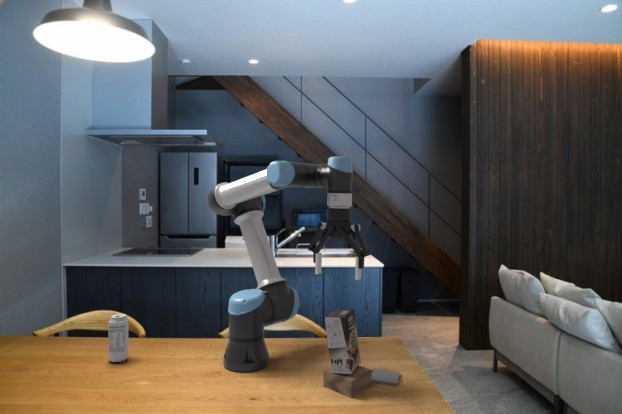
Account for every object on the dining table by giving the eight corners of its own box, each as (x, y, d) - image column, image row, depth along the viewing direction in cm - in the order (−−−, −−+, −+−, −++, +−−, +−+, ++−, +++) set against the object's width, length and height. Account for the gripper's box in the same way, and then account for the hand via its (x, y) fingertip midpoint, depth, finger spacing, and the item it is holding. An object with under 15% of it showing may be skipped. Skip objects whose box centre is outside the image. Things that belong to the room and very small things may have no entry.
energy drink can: (131, 356, 136) (131, 313, 136) (123, 363, 130) (123, 318, 130) (113, 356, 136) (113, 313, 136) (105, 363, 130) (104, 318, 130)
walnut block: (323, 387, 115) (323, 370, 115) (344, 376, 122) (344, 360, 122) (351, 399, 108) (351, 381, 108) (371, 386, 116) (371, 369, 116)
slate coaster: (369, 382, 118) (369, 379, 118) (374, 371, 126) (374, 368, 126) (397, 386, 115) (397, 383, 115) (399, 374, 123) (399, 372, 123)
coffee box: (352, 374, 110) (344, 316, 111) (330, 373, 113) (323, 317, 113) (361, 362, 119) (354, 308, 119) (341, 361, 121) (334, 308, 122)
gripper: (298, 206, 124) (296, 273, 125) (373, 209, 112) (371, 283, 113) (310, 205, 131) (308, 269, 131) (382, 208, 118) (380, 279, 119)
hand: (337, 276), depth 122 cm, fingers open, 13 cm apart
